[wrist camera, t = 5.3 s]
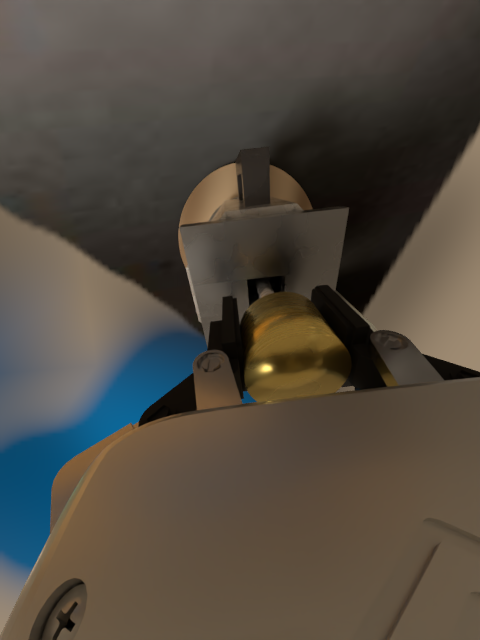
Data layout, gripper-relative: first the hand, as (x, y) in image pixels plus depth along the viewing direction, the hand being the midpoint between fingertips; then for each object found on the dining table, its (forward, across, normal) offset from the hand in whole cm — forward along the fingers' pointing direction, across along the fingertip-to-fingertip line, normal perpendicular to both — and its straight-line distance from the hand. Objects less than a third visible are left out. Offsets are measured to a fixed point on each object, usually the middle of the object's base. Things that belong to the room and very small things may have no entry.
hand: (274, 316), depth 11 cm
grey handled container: (+16, 0, -1) cm, 16 cm away
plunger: (+13, 0, 0) cm, 13 cm away
